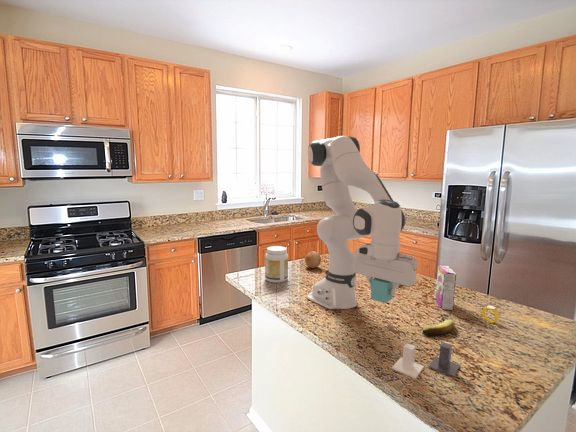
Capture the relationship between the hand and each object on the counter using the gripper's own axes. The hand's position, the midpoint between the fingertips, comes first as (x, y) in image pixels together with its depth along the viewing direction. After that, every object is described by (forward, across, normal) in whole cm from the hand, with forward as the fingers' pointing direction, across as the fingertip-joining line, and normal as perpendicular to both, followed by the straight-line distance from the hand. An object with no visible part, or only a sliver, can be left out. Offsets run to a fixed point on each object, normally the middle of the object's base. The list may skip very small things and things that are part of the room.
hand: (382, 292), depth 105 cm
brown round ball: (+20, +67, -55) cm, 89 cm away
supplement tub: (+20, +69, -25) cm, 76 cm away
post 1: (+19, -12, +6) cm, 23 cm away
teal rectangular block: (+2, 0, 0) cm, 2 cm away
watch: (+19, -25, -47) cm, 57 cm away
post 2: (+19, -20, -2) cm, 27 cm away
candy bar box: (+19, -7, -51) cm, 55 cm away
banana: (+20, -12, -26) cm, 35 cm away
